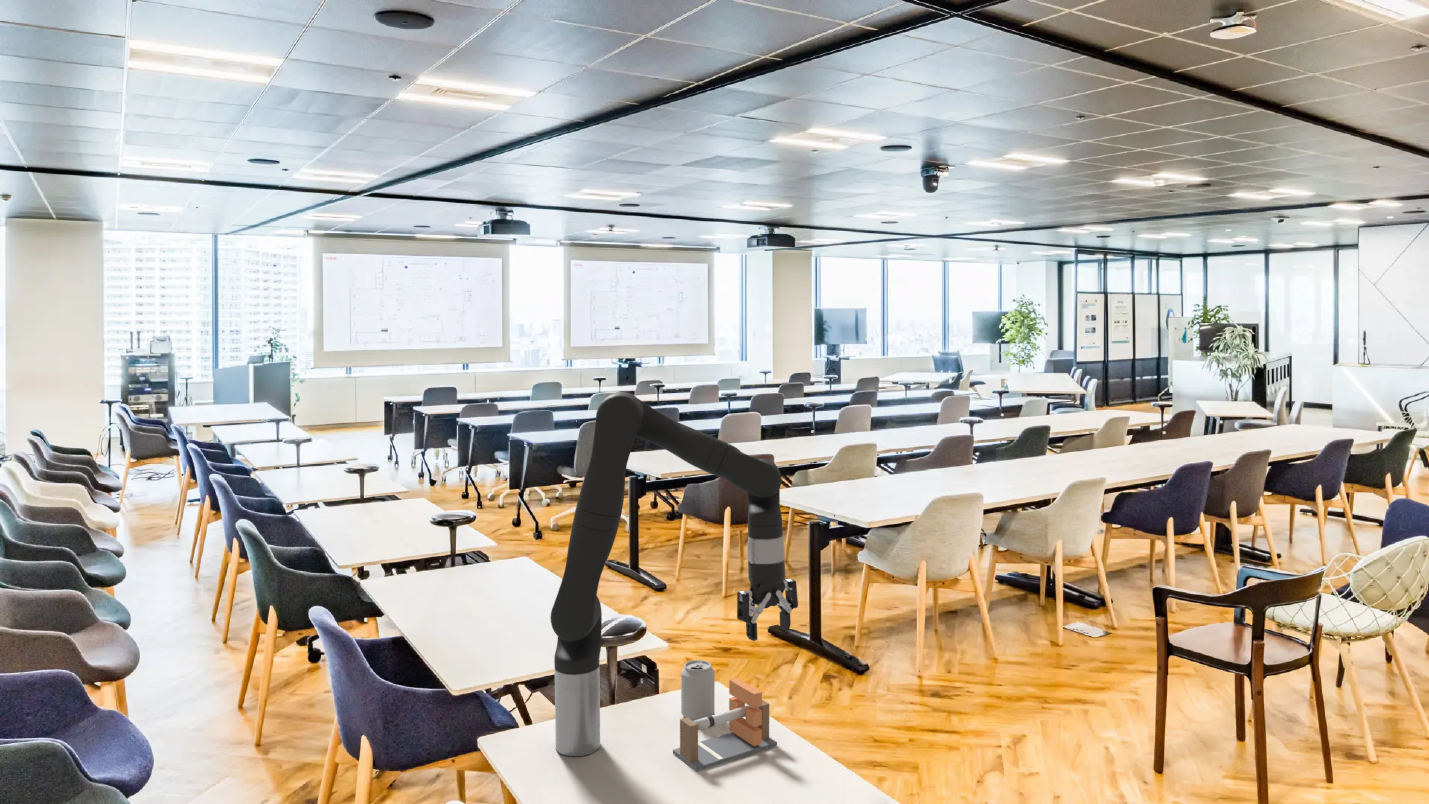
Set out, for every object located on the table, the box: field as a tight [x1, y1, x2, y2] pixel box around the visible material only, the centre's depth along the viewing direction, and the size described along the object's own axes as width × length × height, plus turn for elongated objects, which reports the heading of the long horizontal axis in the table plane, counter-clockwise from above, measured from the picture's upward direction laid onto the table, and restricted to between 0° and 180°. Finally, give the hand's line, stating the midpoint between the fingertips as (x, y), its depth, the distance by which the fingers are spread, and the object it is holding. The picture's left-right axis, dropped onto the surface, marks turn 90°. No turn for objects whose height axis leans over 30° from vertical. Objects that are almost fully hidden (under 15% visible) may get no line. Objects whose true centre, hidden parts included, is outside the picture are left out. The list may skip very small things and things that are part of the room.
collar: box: [728, 677, 763, 746], centre depth 191 cm, size 2×9×11 cm, turn 33°
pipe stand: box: [672, 699, 778, 772], centre depth 188 cm, size 20×9×8 cm, turn 123°
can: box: [680, 659, 716, 721], centre depth 205 cm, size 8×8×12 cm
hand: (768, 634), depth 187 cm, fingers open, 8 cm apart
